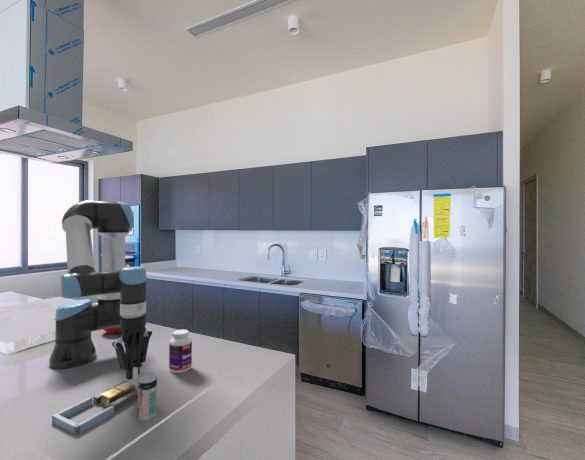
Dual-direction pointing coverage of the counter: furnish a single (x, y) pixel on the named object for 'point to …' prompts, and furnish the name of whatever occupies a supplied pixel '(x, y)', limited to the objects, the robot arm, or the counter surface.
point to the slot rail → (119, 402)
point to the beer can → (147, 396)
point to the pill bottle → (180, 352)
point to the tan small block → (110, 397)
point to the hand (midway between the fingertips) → (132, 387)
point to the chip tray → (77, 428)
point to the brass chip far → (126, 388)
